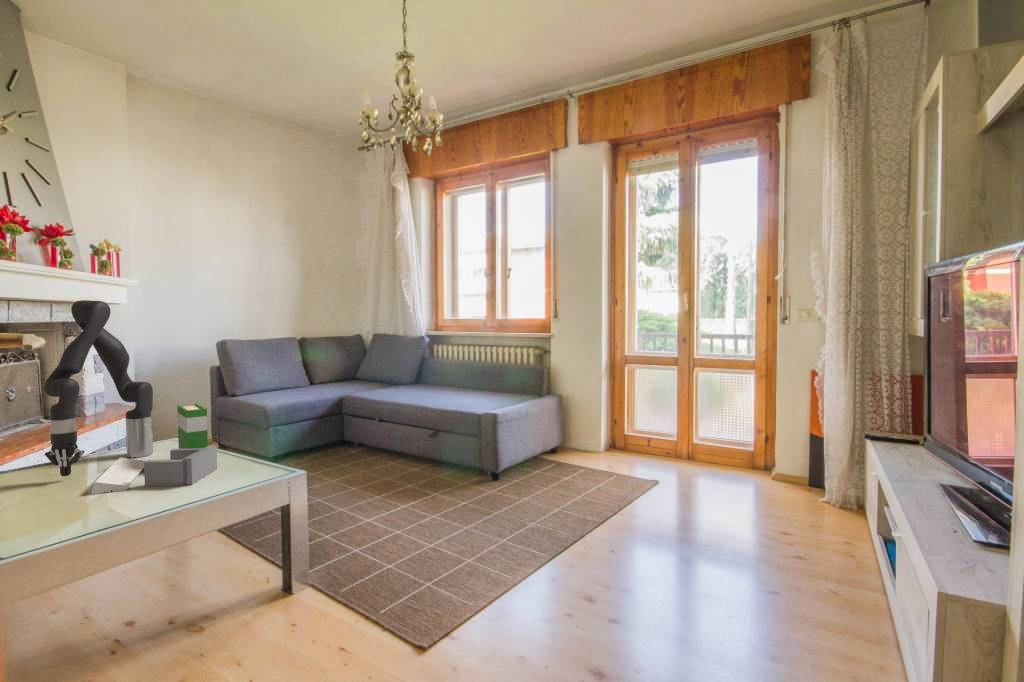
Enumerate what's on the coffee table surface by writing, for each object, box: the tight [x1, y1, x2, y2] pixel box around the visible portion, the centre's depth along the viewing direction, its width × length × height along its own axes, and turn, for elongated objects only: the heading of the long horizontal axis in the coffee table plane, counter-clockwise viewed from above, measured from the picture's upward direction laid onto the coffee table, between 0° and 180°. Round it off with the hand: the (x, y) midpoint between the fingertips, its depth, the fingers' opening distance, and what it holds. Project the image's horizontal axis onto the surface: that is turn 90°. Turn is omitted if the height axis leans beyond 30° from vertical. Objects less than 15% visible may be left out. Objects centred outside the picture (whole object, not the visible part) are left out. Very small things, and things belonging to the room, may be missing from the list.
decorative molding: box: [90, 457, 147, 495], centre depth 194 cm, size 34×5×10 cm
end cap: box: [143, 444, 218, 487], centre depth 195 cm, size 19×16×10 cm
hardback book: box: [176, 403, 209, 449], centre depth 215 cm, size 18×7×24 cm, turn 43°
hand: (65, 475), depth 191 cm, fingers closed
